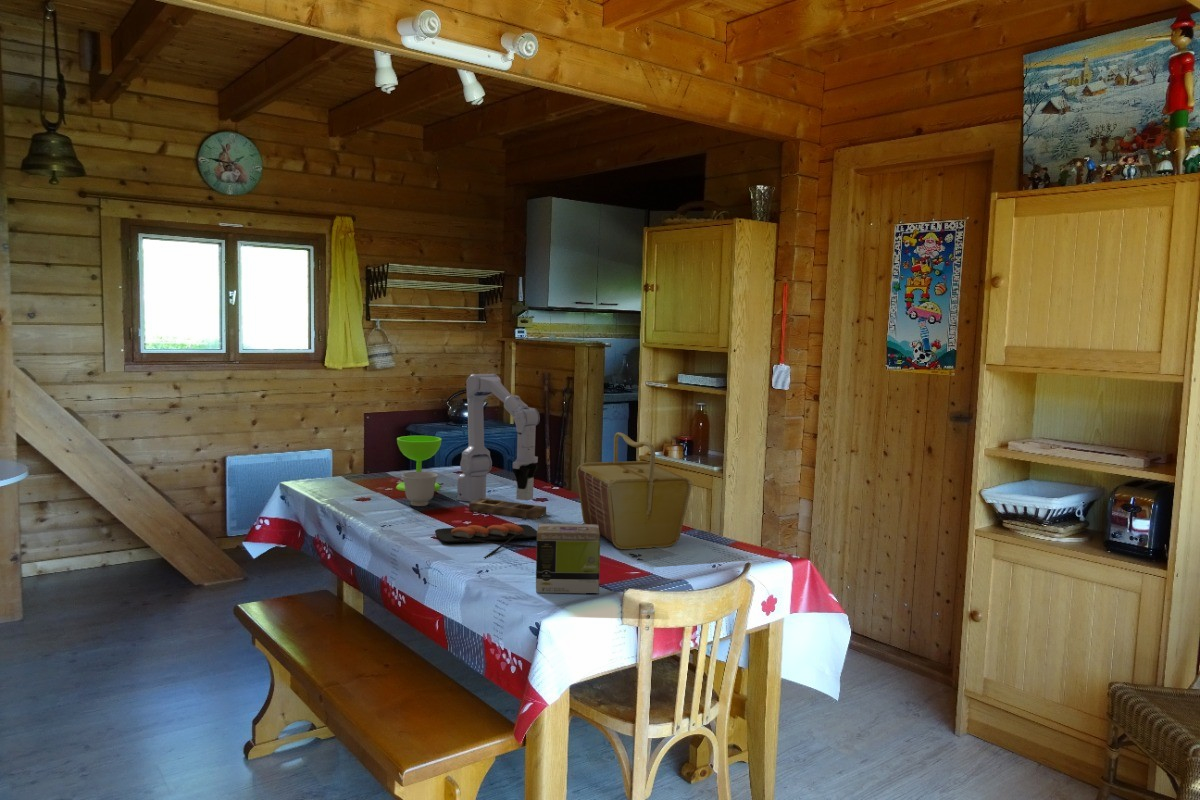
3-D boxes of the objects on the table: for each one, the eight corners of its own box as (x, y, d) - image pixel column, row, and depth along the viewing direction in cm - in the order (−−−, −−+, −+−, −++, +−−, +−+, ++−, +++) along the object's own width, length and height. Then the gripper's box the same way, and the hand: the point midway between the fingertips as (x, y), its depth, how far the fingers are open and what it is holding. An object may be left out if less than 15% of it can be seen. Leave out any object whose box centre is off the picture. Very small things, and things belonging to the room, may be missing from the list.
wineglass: (392, 484, 321) (392, 436, 319) (434, 482, 327) (435, 435, 326) (401, 493, 306) (402, 442, 304) (445, 490, 313) (446, 441, 311)
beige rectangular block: (516, 499, 279) (517, 477, 278) (521, 496, 283) (522, 475, 282) (527, 500, 278) (528, 479, 277) (532, 498, 281) (533, 477, 281)
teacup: (444, 499, 298) (445, 471, 297) (431, 509, 283) (432, 479, 282) (410, 497, 299) (410, 469, 298) (395, 507, 284) (396, 477, 283)
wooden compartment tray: (469, 510, 283) (469, 502, 283) (480, 505, 291) (481, 497, 290) (535, 519, 275) (535, 510, 275) (546, 514, 282) (546, 505, 282)
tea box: (597, 582, 213) (599, 523, 211) (598, 595, 203) (601, 533, 201) (536, 580, 212) (538, 521, 211) (534, 593, 202) (536, 531, 201)
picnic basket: (572, 528, 265) (575, 431, 262) (649, 524, 275) (653, 430, 272) (606, 553, 238) (610, 446, 235) (690, 548, 247) (696, 444, 244)
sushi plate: (528, 529, 264) (528, 517, 263) (559, 556, 236) (559, 542, 235) (432, 535, 253) (432, 522, 253) (453, 563, 225) (453, 549, 225)
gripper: (527, 450, 270) (526, 492, 272) (546, 444, 284) (545, 485, 285) (507, 448, 273) (506, 490, 274) (527, 442, 286) (526, 482, 288)
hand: (524, 487), depth 280 cm, fingers closed on beige rectangular block, 4 cm apart
